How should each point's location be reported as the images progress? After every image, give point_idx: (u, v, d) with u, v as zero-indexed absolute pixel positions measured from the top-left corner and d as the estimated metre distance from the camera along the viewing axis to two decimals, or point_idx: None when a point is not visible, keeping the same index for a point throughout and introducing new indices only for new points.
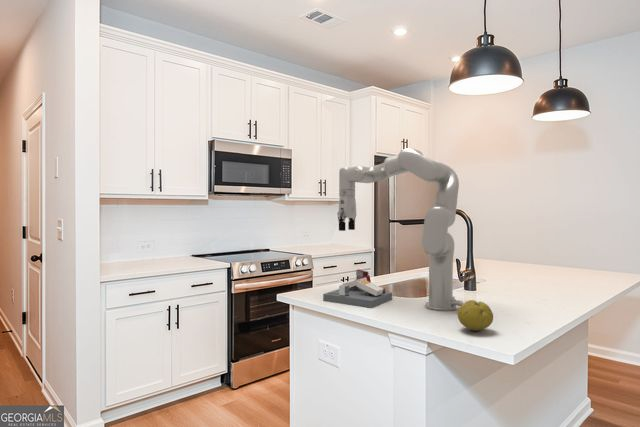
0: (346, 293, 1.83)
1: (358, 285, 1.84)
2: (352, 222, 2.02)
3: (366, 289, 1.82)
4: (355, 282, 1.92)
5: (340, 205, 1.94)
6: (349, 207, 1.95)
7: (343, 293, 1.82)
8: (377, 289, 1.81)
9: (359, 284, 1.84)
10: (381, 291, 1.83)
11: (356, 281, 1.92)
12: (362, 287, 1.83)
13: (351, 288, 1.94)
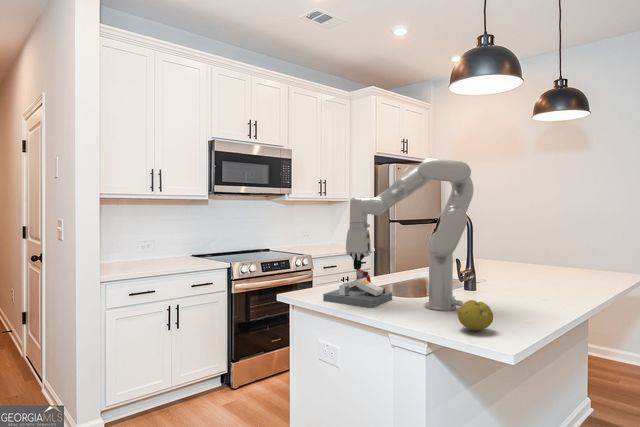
0: (346, 293, 1.83)
1: (358, 285, 1.84)
2: None
3: (366, 289, 1.82)
4: (355, 282, 1.92)
5: (367, 240, 1.76)
6: None
7: (343, 293, 1.82)
8: (377, 289, 1.81)
9: (359, 284, 1.84)
10: (381, 291, 1.83)
11: (356, 281, 1.92)
12: (362, 287, 1.83)
13: (351, 288, 1.94)
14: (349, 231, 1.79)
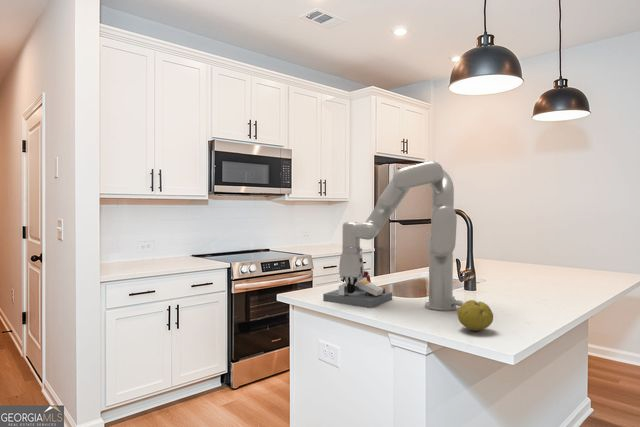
0: (346, 293, 1.83)
1: (358, 285, 1.84)
2: None
3: (366, 289, 1.82)
4: None
5: (360, 264, 1.78)
6: None
7: (343, 293, 1.82)
8: (377, 289, 1.81)
9: (359, 284, 1.84)
10: (381, 291, 1.83)
11: None
12: (362, 287, 1.83)
13: None
14: (342, 255, 1.82)
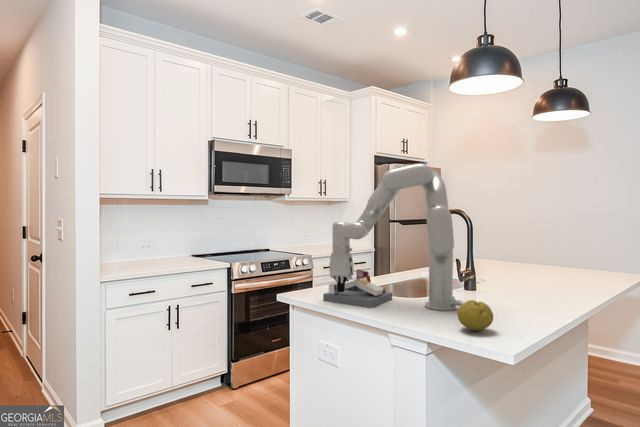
0: (336, 292, 1.86)
1: (358, 285, 1.84)
2: None
3: (366, 289, 1.82)
4: (355, 282, 1.92)
5: (349, 263, 1.81)
6: None
7: (333, 292, 1.85)
8: (377, 289, 1.81)
9: (359, 284, 1.84)
10: (381, 291, 1.83)
11: (356, 281, 1.92)
12: (362, 287, 1.83)
13: (351, 288, 1.94)
14: (332, 255, 1.84)
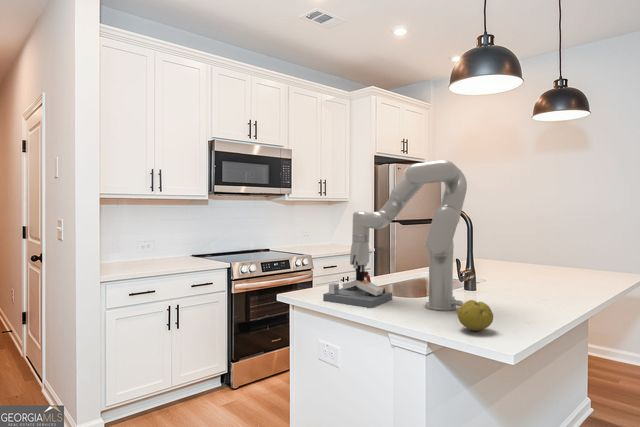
0: (336, 292, 1.86)
1: (358, 285, 1.84)
2: None
3: (366, 289, 1.82)
4: (355, 282, 1.92)
5: None
6: None
7: (333, 292, 1.85)
8: (377, 289, 1.81)
9: (359, 284, 1.84)
10: (381, 291, 1.83)
11: (356, 281, 1.92)
12: (362, 287, 1.83)
13: (351, 288, 1.94)
14: (361, 245, 1.83)
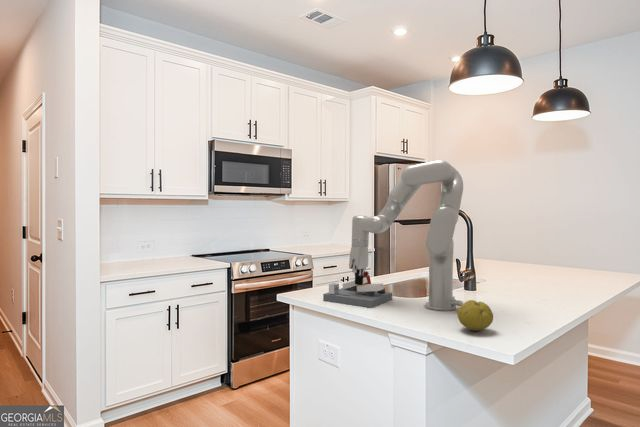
0: (336, 292, 1.86)
1: (358, 289, 1.84)
2: None
3: (366, 289, 1.82)
4: None
5: None
6: None
7: (333, 292, 1.85)
8: (376, 285, 1.81)
9: (358, 288, 1.84)
10: (381, 286, 1.83)
11: None
12: (362, 289, 1.83)
13: (351, 288, 1.94)
14: (361, 249, 1.83)
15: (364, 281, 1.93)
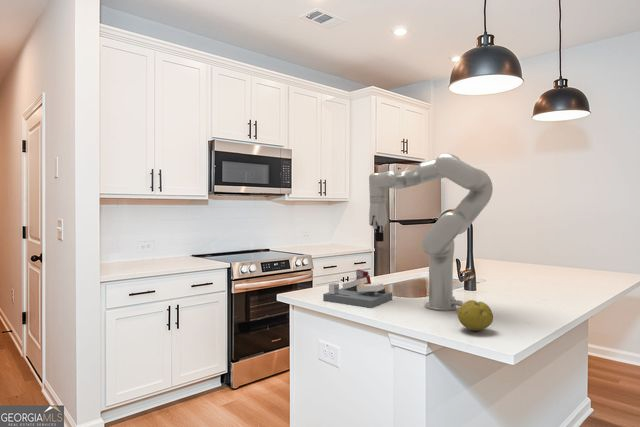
0: (336, 292, 1.86)
1: (358, 289, 1.84)
2: None
3: (366, 289, 1.82)
4: (355, 282, 1.92)
5: None
6: None
7: (333, 292, 1.85)
8: (376, 285, 1.81)
9: (358, 288, 1.84)
10: (381, 286, 1.83)
11: (356, 281, 1.92)
12: (362, 289, 1.83)
13: (351, 288, 1.94)
14: (380, 205, 1.86)
15: (364, 281, 1.93)
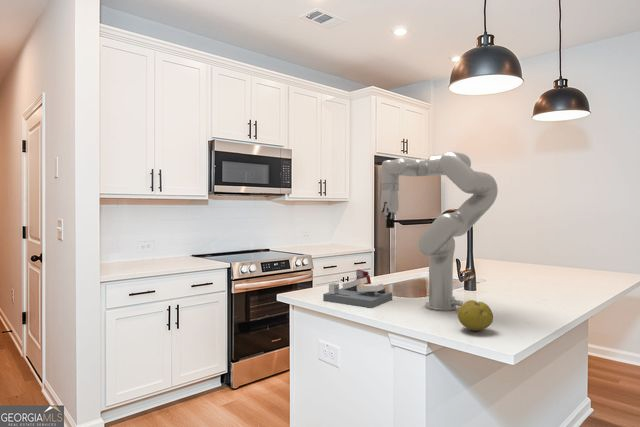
0: (336, 292, 1.86)
1: (358, 289, 1.84)
2: None
3: (366, 289, 1.82)
4: (355, 282, 1.92)
5: None
6: None
7: (333, 292, 1.85)
8: (376, 285, 1.81)
9: (358, 288, 1.84)
10: (381, 286, 1.83)
11: (356, 281, 1.92)
12: (362, 289, 1.83)
13: (351, 288, 1.94)
14: (392, 192, 1.88)
15: (364, 281, 1.93)
